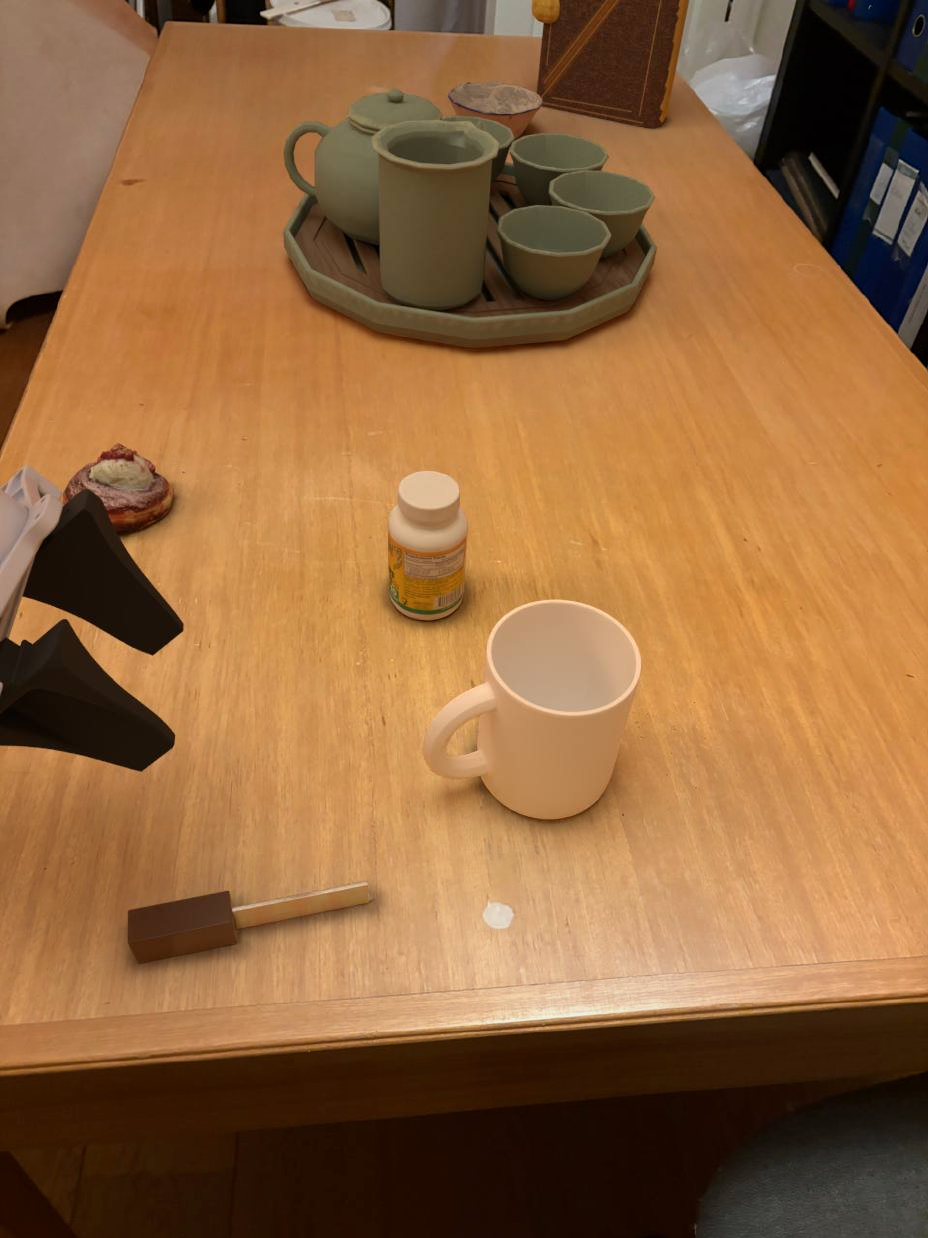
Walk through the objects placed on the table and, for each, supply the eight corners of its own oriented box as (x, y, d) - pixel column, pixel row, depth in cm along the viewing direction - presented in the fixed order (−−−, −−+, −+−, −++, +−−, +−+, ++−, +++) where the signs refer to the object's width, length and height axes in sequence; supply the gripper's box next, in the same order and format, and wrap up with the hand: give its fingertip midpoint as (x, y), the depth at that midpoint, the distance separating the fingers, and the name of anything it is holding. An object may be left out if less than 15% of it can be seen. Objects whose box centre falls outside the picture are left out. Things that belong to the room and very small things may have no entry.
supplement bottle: (457, 627, 64) (464, 521, 57) (381, 616, 65) (379, 510, 58) (468, 575, 68) (476, 469, 61) (396, 565, 68) (396, 458, 62)
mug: (445, 862, 52) (452, 754, 44) (398, 747, 57) (398, 633, 50) (634, 801, 55) (670, 691, 48) (574, 698, 61) (598, 585, 53)
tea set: (708, 334, 94) (752, 164, 83) (314, 369, 86) (300, 186, 74) (579, 179, 121) (598, 34, 109) (268, 195, 112) (252, 40, 101)
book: (671, 115, 140) (711, -92, 122) (655, 131, 135) (694, -82, 117) (536, 87, 146) (556, -114, 128) (515, 102, 140) (532, -105, 122)
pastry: (186, 481, 74) (175, 428, 70) (155, 543, 69) (142, 490, 65) (87, 471, 74) (71, 418, 71) (49, 532, 69) (30, 479, 65)
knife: (137, 964, 47) (127, 943, 45) (137, 931, 48) (127, 909, 47) (371, 916, 49) (370, 894, 48) (365, 885, 51) (364, 863, 49)
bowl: (430, 135, 129) (431, 97, 125) (472, 110, 137) (474, 73, 134) (515, 156, 125) (518, 117, 122) (552, 128, 133) (556, 91, 130)
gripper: (-127, 527, 26) (228, 760, 34) (-17, 344, 38) (230, 550, 45) (-276, 668, 28) (95, 859, 36) (-127, 452, 39) (129, 633, 47)
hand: (163, 692), depth 41 cm, fingers open, 7 cm apart
